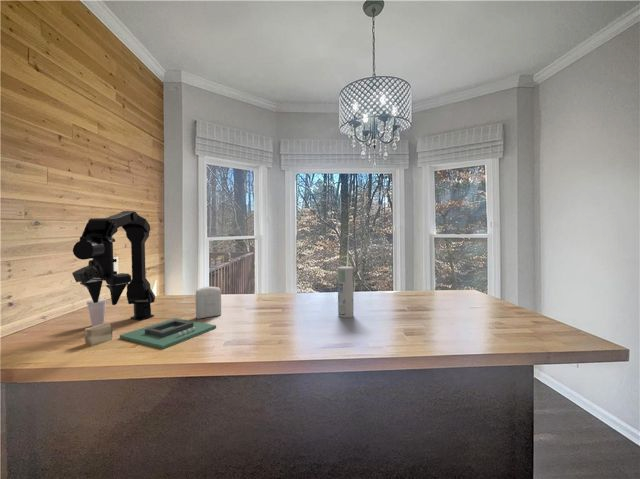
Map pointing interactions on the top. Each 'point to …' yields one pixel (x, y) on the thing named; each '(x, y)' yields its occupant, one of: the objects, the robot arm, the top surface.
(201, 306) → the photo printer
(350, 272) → the spray can
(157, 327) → the socket board
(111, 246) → the robot arm
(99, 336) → the plug
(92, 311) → the smoothie
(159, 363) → the top surface
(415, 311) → the top surface
